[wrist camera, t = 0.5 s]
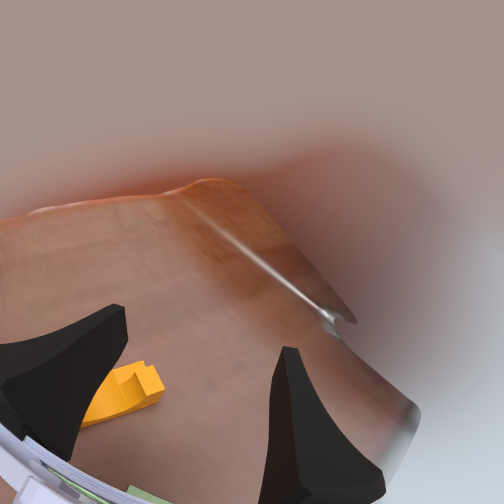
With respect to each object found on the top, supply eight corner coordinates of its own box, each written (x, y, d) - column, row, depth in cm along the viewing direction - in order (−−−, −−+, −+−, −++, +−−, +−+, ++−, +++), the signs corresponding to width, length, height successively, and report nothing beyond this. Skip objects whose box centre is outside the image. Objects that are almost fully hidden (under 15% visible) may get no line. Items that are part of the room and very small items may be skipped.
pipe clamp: (140, 369, 28) (145, 348, 24) (157, 402, 26) (165, 388, 22) (49, 396, 20) (33, 379, 16) (63, 432, 18) (48, 425, 14)
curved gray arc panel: (109, 524, 12) (107, 535, 9) (-2, 443, 12) (-21, 437, 9) (120, 504, 15) (119, 512, 12) (10, 424, 15) (-8, 415, 11)
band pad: (167, 520, 16) (167, 521, 15) (121, 500, 15) (121, 500, 15) (175, 504, 18) (175, 504, 17) (130, 484, 17) (130, 484, 17)
